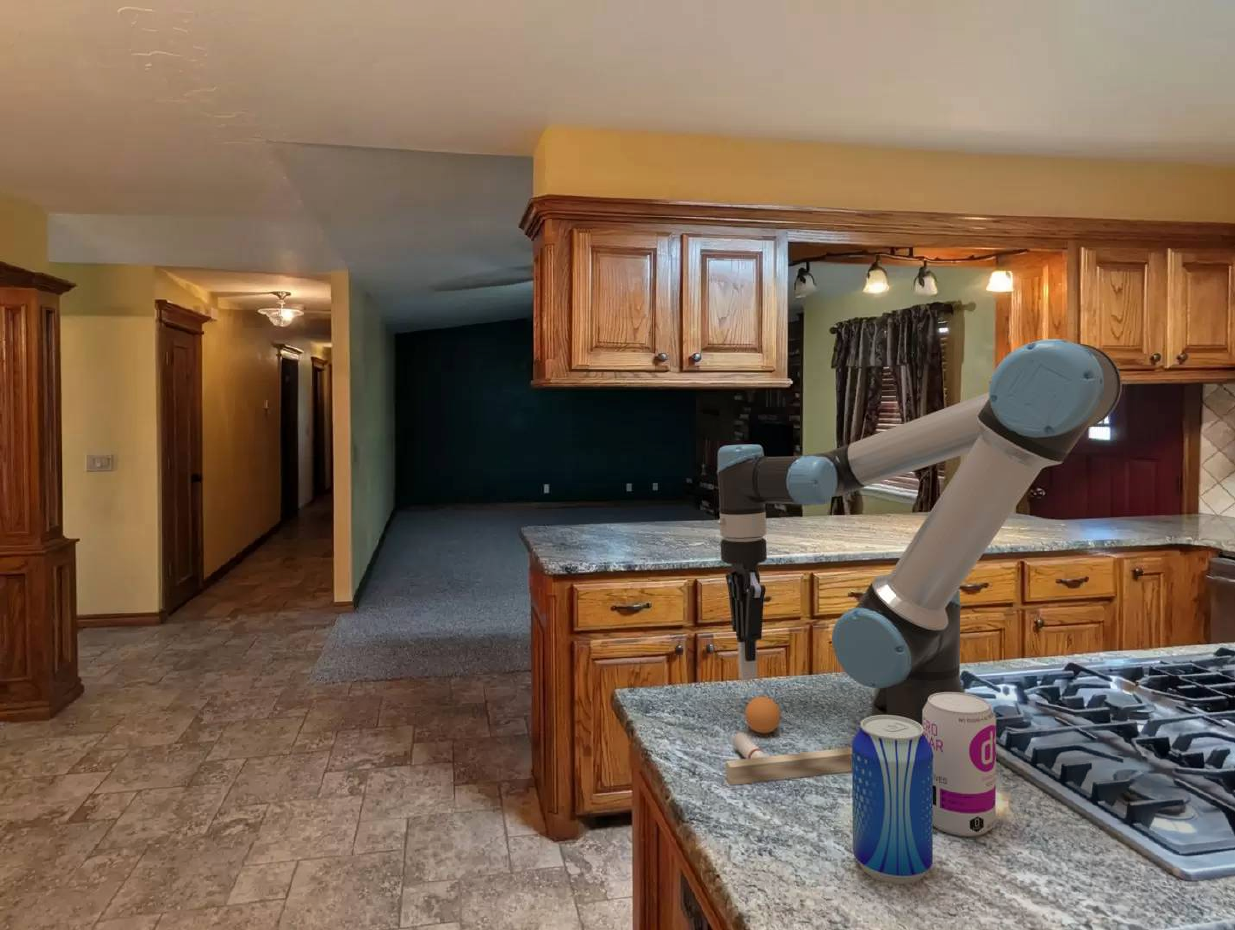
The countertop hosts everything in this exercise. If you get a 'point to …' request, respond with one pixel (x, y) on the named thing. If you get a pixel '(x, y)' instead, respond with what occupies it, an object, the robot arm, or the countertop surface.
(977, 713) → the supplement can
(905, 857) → the beer can
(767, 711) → the ball
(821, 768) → the bar
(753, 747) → the pin
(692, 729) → the countertop surface
